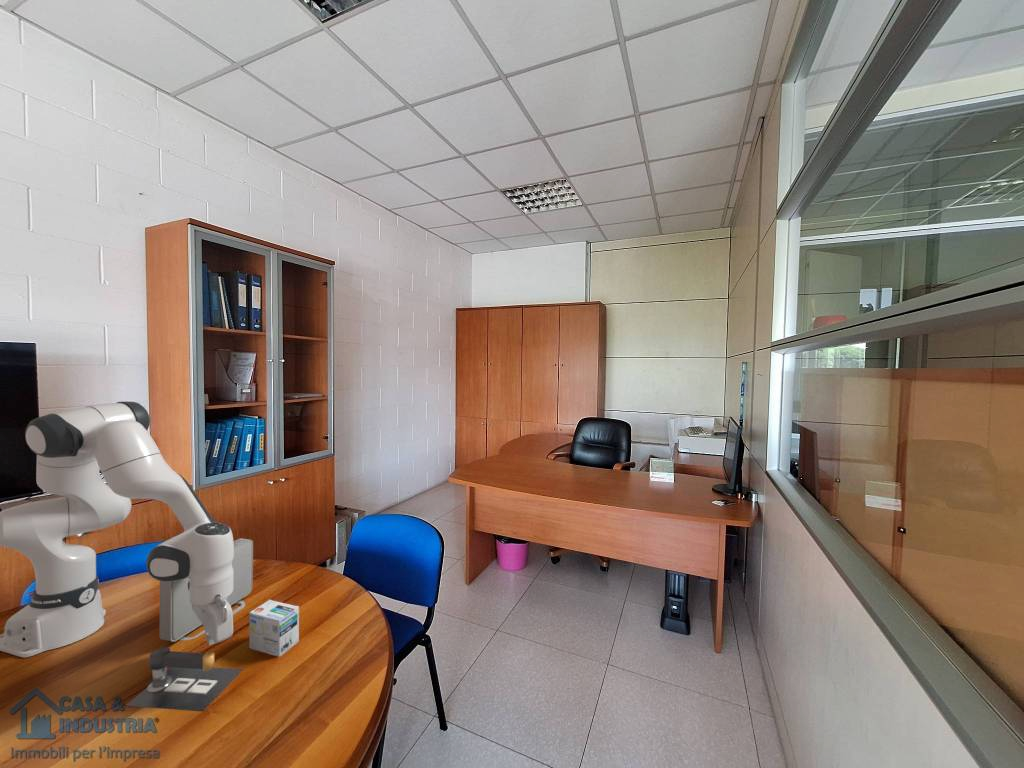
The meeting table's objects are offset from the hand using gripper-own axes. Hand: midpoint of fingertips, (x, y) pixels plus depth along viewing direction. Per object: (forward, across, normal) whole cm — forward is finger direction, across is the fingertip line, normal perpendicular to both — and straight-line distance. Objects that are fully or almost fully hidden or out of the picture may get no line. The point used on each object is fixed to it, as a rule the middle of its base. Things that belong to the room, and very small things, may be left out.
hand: (211, 641), depth 98 cm
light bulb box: (+7, -4, -13) cm, 15 cm away
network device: (+7, +22, -5) cm, 24 cm away
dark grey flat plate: (+7, -4, +6) cm, 10 cm away
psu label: (+6, -2, +7) cm, 9 cm away
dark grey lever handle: (+1, -3, +6) cm, 7 cm away
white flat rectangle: (+6, -7, +4) cm, 10 cm away
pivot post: (+7, +2, +10) cm, 12 cm away
